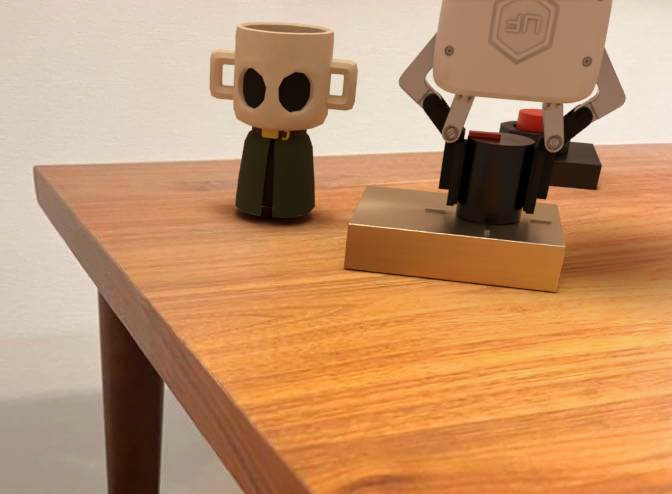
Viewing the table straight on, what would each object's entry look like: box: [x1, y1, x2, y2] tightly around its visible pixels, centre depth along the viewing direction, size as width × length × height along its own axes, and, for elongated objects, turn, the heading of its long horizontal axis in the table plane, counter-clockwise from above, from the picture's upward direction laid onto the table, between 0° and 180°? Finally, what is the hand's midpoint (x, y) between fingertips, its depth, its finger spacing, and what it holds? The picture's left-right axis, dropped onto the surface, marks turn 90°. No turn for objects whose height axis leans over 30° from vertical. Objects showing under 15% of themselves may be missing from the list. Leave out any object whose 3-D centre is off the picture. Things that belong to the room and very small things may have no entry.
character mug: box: [209, 21, 359, 219], centre depth 72 cm, size 11×7×13 cm, turn 77°
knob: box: [456, 129, 535, 224], centre depth 65 cm, size 4×4×5 cm
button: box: [516, 108, 543, 132], centre depth 90 cm, size 4×4×2 cm
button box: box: [498, 120, 603, 191], centre depth 91 cm, size 12×10×4 cm
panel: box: [343, 185, 567, 293], centre depth 68 cm, size 14×11×3 cm
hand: (490, 202), depth 66 cm, fingers closed on knob, 4 cm apart
